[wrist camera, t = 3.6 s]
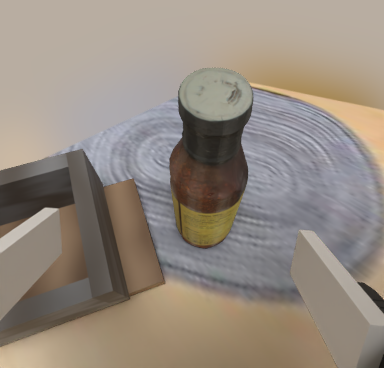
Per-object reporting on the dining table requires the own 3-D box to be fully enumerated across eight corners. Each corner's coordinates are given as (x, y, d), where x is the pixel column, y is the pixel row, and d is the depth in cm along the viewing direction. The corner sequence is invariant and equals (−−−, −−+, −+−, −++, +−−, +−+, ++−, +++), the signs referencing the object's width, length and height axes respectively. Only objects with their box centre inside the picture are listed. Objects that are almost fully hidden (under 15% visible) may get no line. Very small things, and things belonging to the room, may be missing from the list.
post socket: (134, 182, 34) (117, 132, 25) (166, 288, 29) (158, 271, 20) (-82, 246, 30) (-195, 213, 21) (-94, 384, 24) (-253, 418, 16)
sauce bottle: (240, 228, 32) (312, 107, 14) (198, 261, 30) (218, 171, 12) (205, 187, 34) (227, 39, 16) (163, 216, 32) (138, 84, 15)
